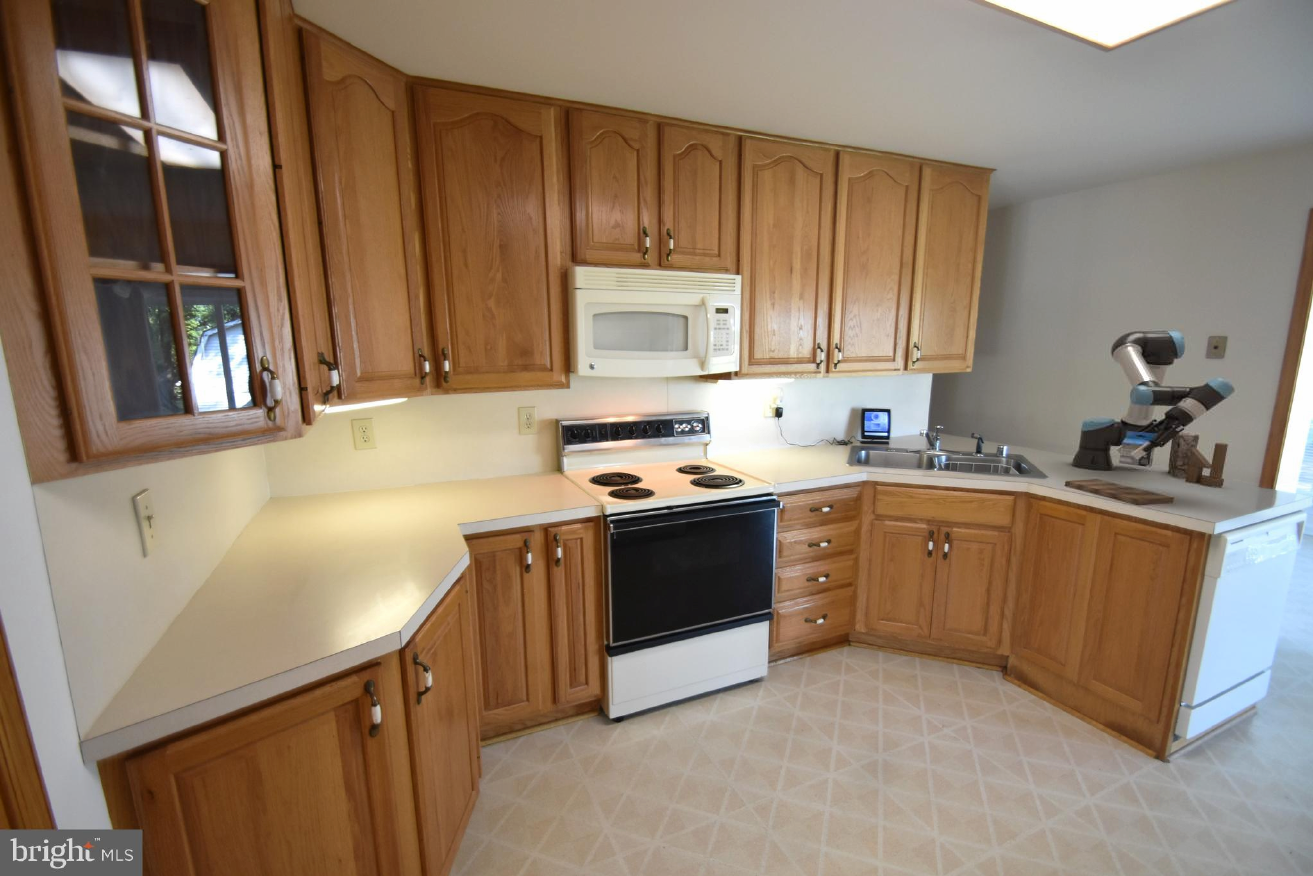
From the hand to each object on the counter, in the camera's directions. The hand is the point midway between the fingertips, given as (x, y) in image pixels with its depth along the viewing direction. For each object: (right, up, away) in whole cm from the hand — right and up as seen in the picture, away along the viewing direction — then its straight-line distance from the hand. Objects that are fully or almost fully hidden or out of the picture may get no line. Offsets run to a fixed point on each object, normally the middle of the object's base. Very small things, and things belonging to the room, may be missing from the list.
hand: (1126, 454), depth 199 cm
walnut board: (+2, -16, +7) cm, 17 cm away
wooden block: (+51, -13, +21) cm, 57 cm away
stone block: (+55, -11, +36) cm, 67 cm away
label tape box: (+3, -4, 0) cm, 5 cm away
